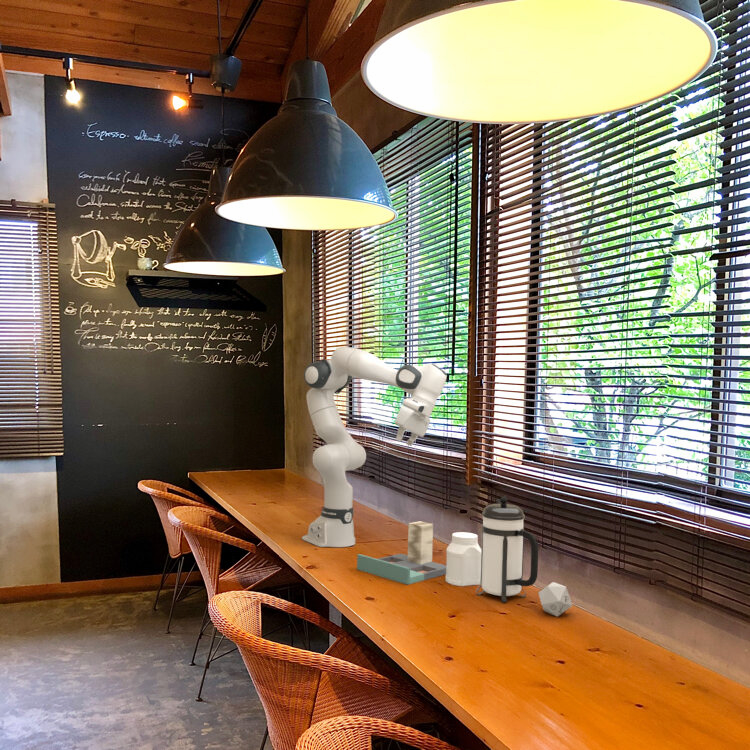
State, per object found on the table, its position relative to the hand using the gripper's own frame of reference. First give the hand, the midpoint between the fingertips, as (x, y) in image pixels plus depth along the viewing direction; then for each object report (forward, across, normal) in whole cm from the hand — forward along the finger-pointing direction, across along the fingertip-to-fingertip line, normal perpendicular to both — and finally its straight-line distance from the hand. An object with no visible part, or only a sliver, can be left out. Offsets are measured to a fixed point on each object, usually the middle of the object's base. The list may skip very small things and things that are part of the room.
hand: (403, 442), depth 249 cm
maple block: (+34, -6, +22) cm, 41 cm away
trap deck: (+39, +1, +21) cm, 44 cm away
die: (+24, +17, +73) cm, 79 cm away
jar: (+32, +1, +41) cm, 52 cm away
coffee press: (+28, +10, +57) cm, 64 cm away
